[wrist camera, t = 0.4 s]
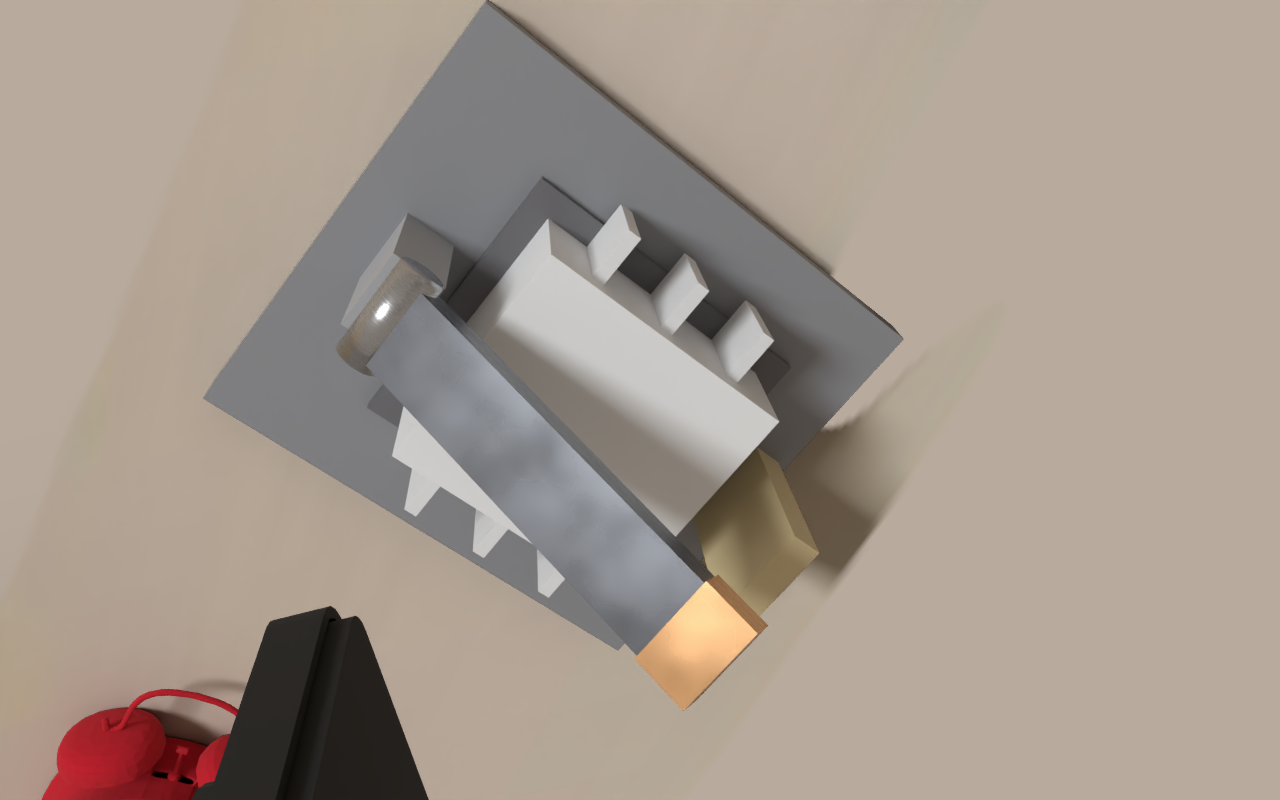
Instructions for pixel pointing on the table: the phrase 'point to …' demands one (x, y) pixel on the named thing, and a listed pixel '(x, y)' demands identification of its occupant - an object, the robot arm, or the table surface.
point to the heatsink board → (467, 202)
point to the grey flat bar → (551, 485)
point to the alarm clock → (133, 756)
